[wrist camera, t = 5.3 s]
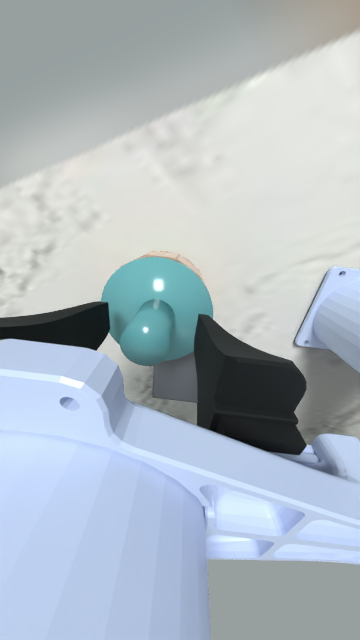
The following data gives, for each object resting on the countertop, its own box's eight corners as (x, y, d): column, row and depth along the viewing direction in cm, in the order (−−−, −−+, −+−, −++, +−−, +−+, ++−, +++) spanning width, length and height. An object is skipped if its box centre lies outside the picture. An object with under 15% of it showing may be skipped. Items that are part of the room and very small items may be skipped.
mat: (237, 347, 19) (238, 349, 19) (220, 402, 23) (220, 405, 23) (156, 337, 19) (155, 339, 19) (153, 394, 23) (152, 397, 23)
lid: (224, 268, 12) (243, 286, 8) (199, 362, 16) (202, 408, 12) (103, 246, 12) (56, 252, 8) (106, 346, 16) (76, 388, 12)
